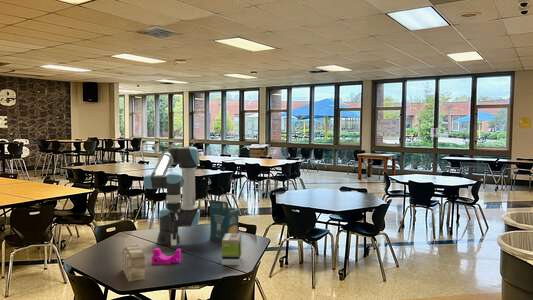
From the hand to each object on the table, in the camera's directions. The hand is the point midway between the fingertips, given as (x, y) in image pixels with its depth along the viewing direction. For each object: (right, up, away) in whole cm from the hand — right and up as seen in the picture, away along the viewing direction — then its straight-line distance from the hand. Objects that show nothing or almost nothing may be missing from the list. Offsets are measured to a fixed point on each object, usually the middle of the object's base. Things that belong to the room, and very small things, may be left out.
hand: (173, 244), depth 220 cm
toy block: (-6, -13, +10) cm, 17 cm away
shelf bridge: (-19, -13, -10) cm, 25 cm away
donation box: (+23, -10, +60) cm, 65 cm away
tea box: (+31, -13, +13) cm, 36 cm away
